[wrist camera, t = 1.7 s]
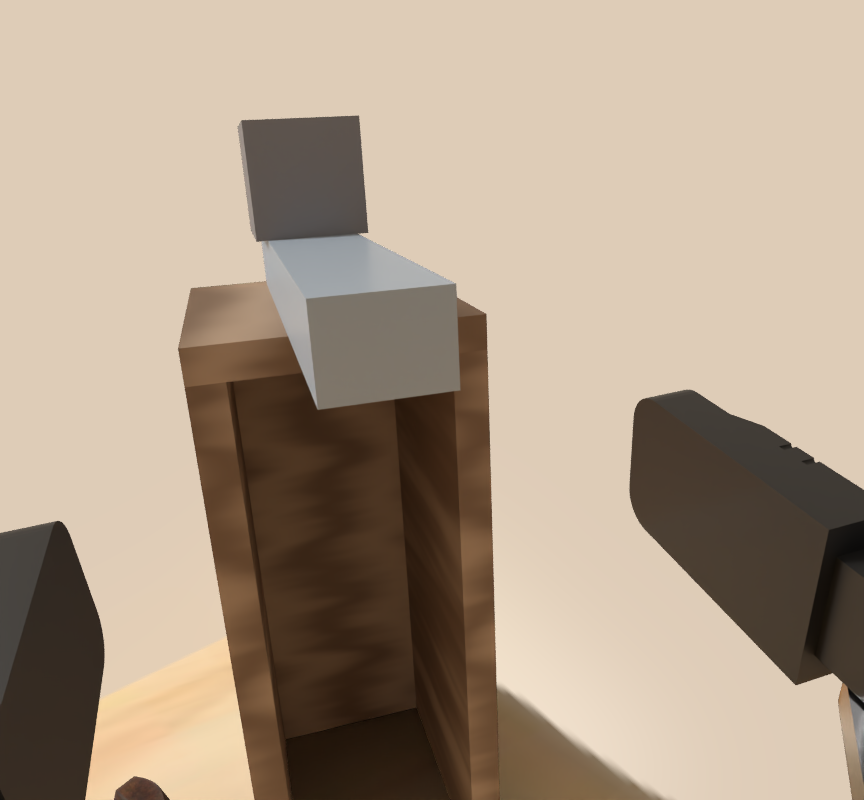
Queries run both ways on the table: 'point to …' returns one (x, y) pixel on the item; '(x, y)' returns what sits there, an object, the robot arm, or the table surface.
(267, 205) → the gray l-shaped block
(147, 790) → the bolt
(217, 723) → the table surface
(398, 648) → the walnut stand
